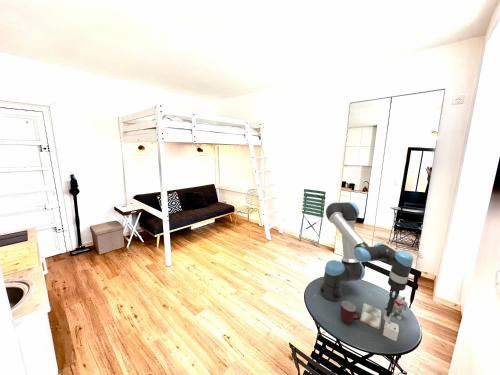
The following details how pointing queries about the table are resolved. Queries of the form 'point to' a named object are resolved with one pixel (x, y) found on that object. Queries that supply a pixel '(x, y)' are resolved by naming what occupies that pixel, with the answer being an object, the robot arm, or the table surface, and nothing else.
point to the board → (371, 316)
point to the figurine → (399, 306)
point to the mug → (348, 312)
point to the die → (391, 330)
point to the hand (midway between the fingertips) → (388, 312)
